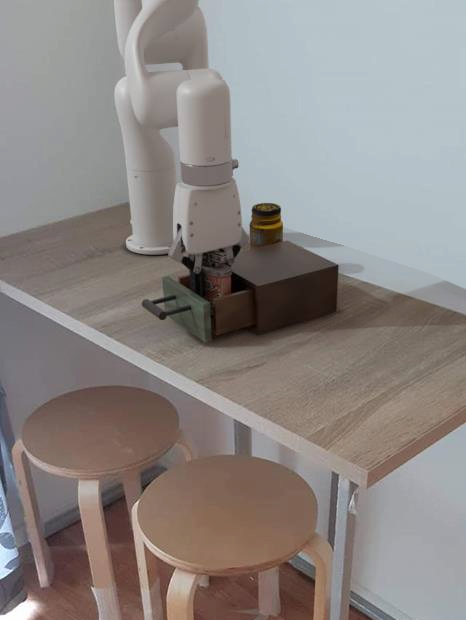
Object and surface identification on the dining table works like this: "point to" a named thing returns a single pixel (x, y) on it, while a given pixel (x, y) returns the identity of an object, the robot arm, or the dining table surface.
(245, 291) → the drawer
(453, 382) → the dining table surface
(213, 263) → the lighter
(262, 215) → the condiment
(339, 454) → the dining table surface
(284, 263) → the cabinet
